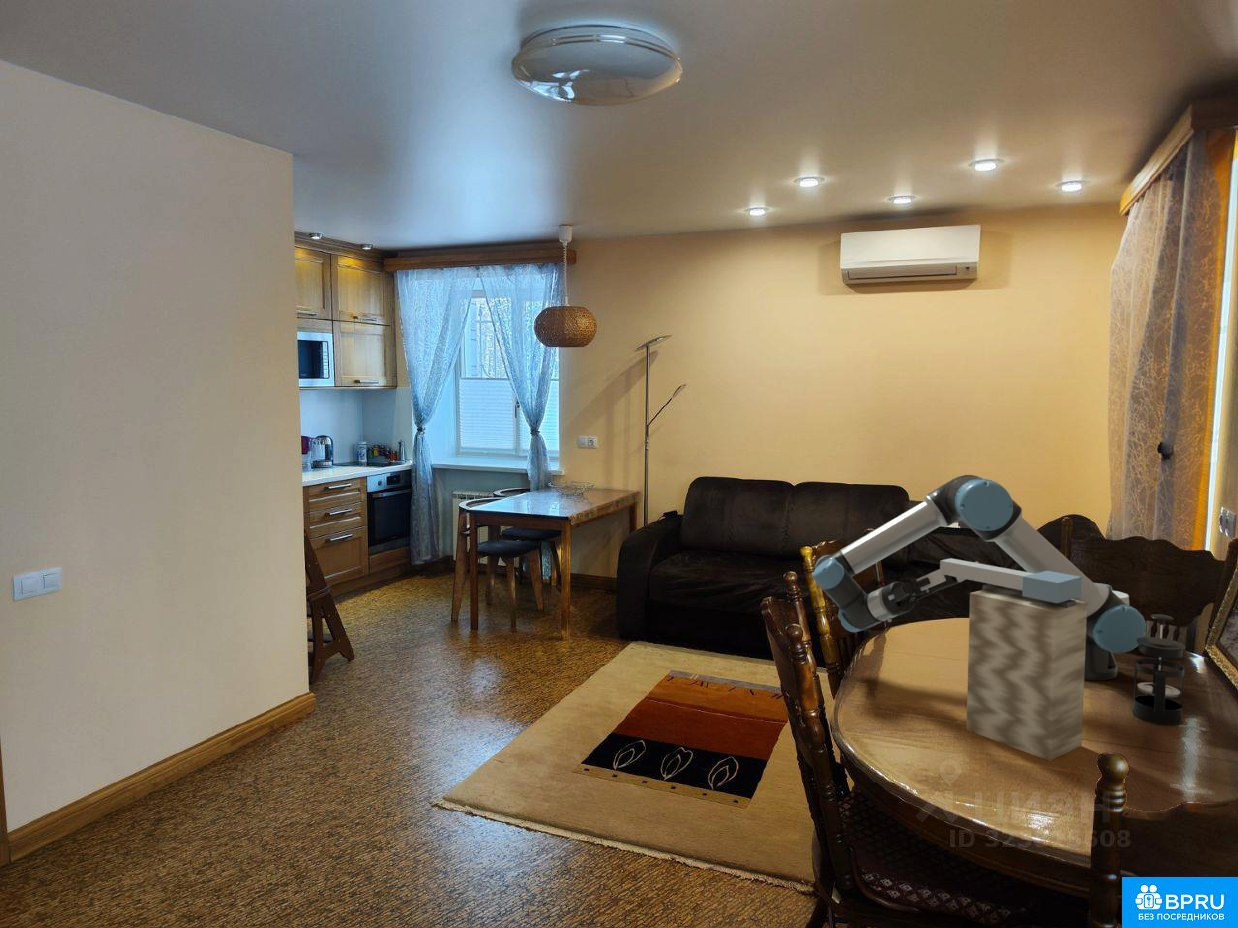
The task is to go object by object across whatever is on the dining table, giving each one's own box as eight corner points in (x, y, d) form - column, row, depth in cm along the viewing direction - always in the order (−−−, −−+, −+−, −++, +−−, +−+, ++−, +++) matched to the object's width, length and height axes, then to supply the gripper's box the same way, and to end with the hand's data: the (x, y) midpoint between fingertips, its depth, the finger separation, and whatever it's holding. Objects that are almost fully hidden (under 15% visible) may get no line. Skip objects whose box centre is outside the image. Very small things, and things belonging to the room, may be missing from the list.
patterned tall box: (966, 729, 172) (970, 588, 169) (998, 716, 178) (1002, 580, 176) (1050, 760, 157) (1055, 606, 154) (1081, 745, 163) (1087, 597, 161)
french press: (1131, 704, 184) (1135, 607, 182) (1181, 712, 179) (1186, 612, 177) (1132, 722, 174) (1137, 619, 172) (1185, 731, 169) (1190, 625, 167)
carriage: (933, 577, 178) (933, 559, 178) (957, 571, 183) (957, 554, 183) (1057, 603, 155) (1058, 583, 155) (1081, 596, 160) (1081, 576, 160)
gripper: (930, 607, 198) (1001, 579, 182) (863, 624, 185) (933, 595, 169) (917, 579, 201) (986, 548, 185) (850, 593, 187) (918, 562, 171)
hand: (961, 570), depth 177 cm, fingers open, 13 cm apart
